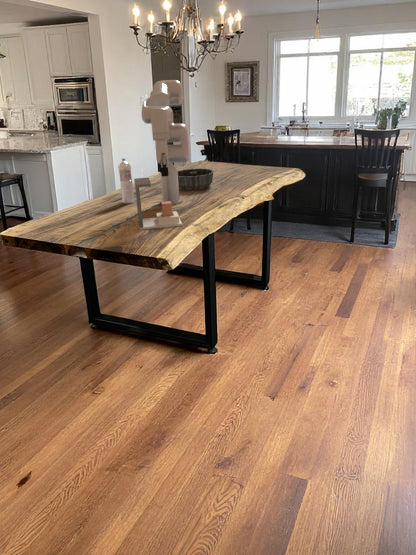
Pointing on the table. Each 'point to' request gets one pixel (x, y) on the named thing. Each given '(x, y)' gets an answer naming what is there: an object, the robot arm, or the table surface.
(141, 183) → the grey l-shaped bracket
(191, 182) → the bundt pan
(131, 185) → the water bottle
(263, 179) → the table surface
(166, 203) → the peg
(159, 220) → the socket stand
